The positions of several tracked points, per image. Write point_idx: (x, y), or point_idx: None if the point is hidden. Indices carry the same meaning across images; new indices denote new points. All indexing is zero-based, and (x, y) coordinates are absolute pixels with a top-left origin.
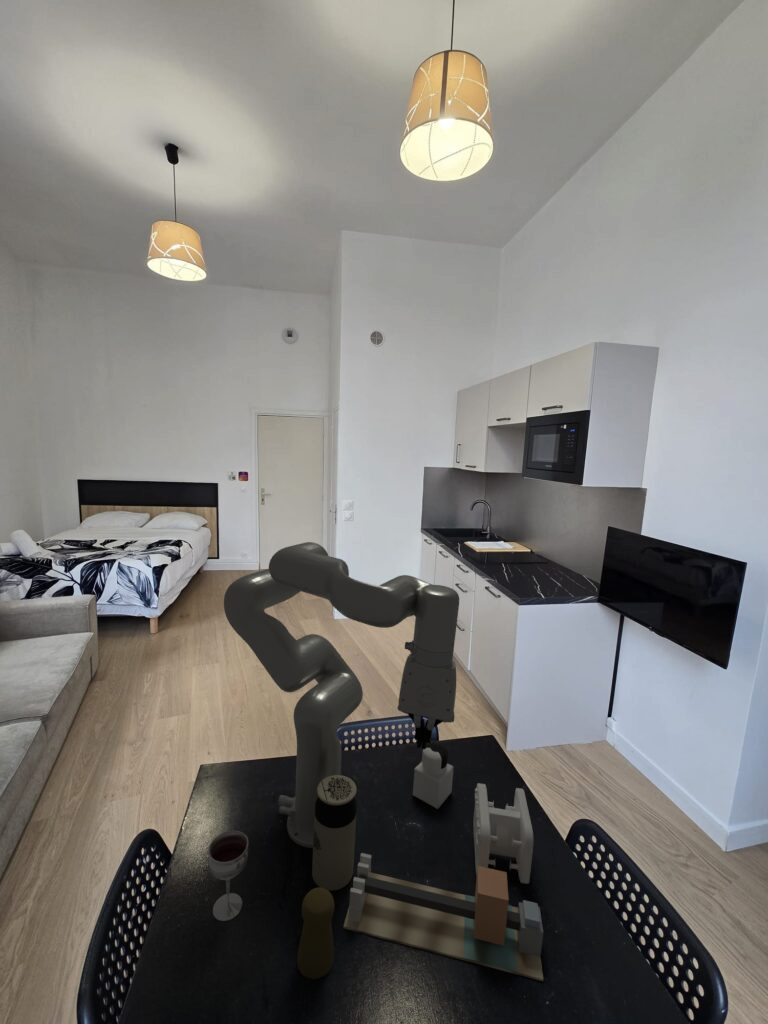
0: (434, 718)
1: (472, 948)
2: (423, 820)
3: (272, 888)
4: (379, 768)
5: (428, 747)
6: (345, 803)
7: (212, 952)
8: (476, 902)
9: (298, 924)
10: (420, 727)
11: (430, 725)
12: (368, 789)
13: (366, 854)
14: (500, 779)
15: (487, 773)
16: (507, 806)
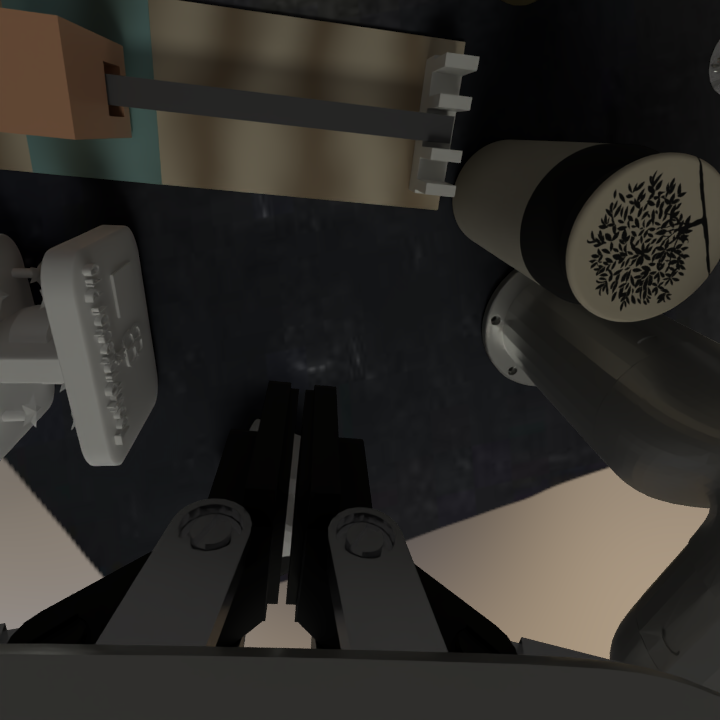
0: (49, 649)
1: (126, 27)
2: (289, 380)
3: (640, 126)
4: (408, 500)
5: (287, 557)
6: (615, 172)
7: None
8: (82, 40)
9: (572, 36)
10: (325, 515)
11: (204, 549)
12: (430, 438)
13: (439, 194)
14: (105, 533)
15: (140, 542)
16: (28, 418)
